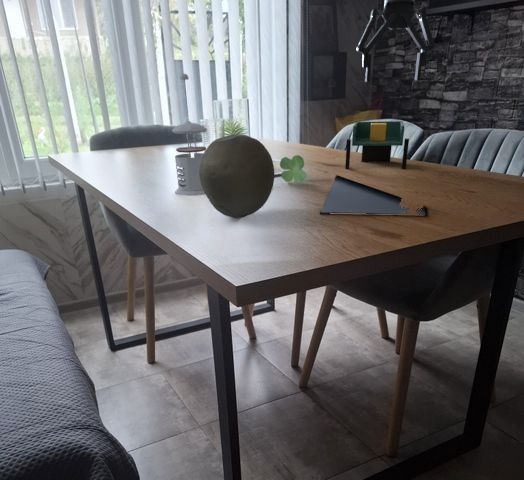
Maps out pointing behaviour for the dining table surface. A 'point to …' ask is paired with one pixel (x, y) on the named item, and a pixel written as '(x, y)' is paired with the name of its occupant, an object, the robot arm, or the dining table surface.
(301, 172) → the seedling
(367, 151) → the stand
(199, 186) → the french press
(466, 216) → the dining table surface
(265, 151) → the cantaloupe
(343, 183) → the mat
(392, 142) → the green shallow box
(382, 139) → the block
